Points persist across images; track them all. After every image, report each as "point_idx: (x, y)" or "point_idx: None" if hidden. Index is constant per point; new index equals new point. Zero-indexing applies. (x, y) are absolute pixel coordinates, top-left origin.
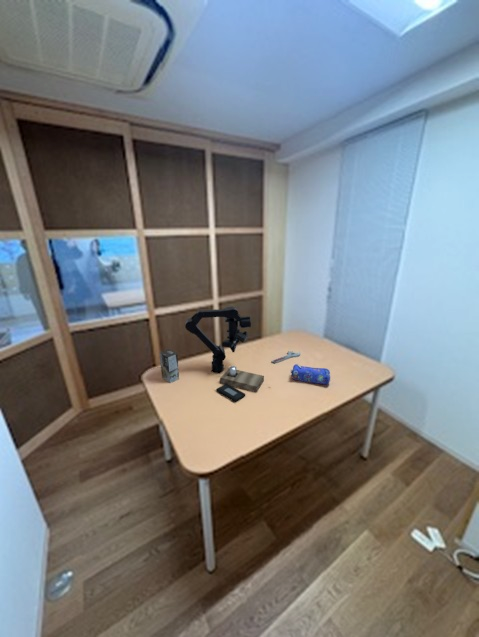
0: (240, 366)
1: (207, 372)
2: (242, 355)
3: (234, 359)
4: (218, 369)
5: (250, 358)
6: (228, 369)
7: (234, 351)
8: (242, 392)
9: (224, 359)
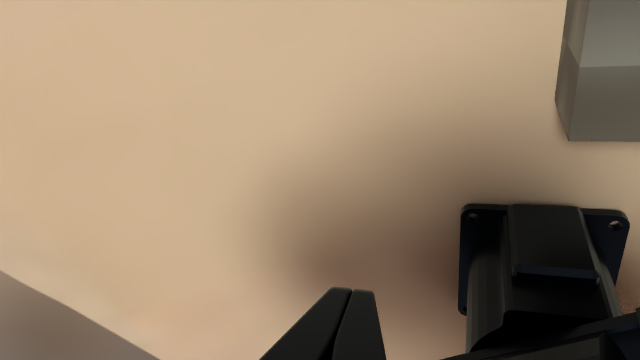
0: (279, 32)
1: None
2: (38, 134)
3: (174, 180)
4: (604, 269)
5: (12, 5)
6: (630, 131)
7: (343, 300)
8: None
9: (602, 338)
